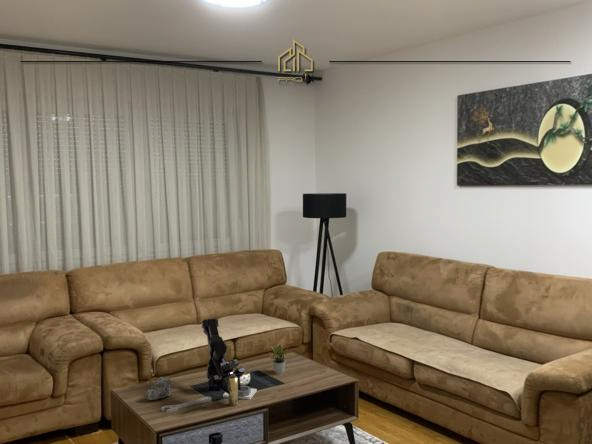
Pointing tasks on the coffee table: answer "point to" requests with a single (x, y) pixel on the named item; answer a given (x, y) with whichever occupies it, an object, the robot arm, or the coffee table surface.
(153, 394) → the mineral rock
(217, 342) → the robot arm
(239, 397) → the pipe plate
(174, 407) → the adjustable wrench
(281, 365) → the house plant
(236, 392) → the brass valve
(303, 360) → the coffee table surface
